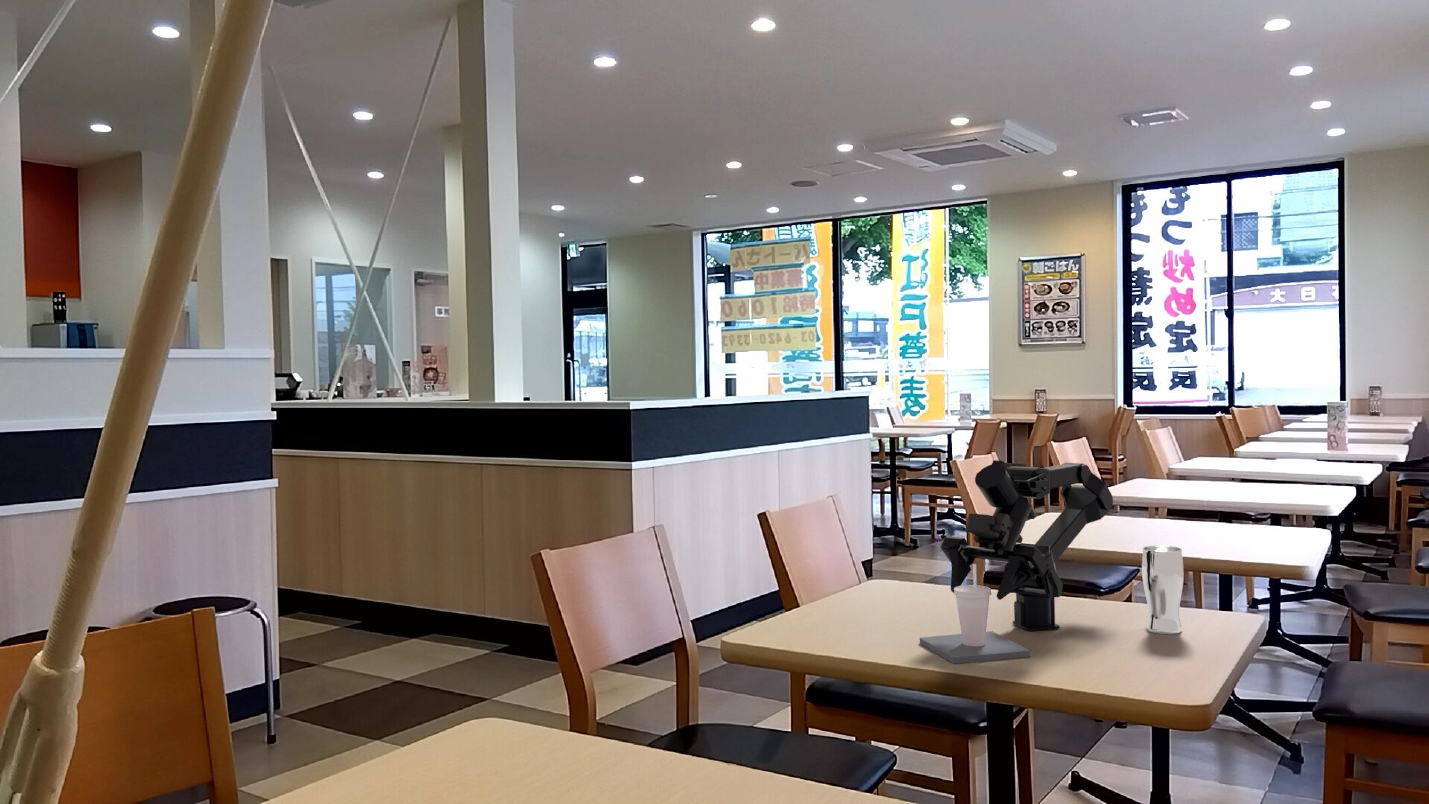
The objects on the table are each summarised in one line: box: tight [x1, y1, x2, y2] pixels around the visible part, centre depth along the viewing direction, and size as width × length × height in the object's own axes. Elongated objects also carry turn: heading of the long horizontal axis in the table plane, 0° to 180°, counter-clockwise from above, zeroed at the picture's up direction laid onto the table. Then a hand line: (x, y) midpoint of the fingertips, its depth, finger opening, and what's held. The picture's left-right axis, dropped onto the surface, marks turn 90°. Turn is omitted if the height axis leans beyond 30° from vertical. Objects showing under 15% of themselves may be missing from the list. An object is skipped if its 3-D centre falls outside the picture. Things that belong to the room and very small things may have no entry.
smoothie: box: [953, 563, 992, 647], centre depth 182 cm, size 6×6×14 cm
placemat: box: [919, 630, 1031, 665], centre depth 183 cm, size 14×14×1 cm
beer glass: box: [1141, 545, 1185, 635], centre depth 191 cm, size 7×7×15 cm
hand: (975, 594), depth 183 cm, fingers open, 9 cm apart
